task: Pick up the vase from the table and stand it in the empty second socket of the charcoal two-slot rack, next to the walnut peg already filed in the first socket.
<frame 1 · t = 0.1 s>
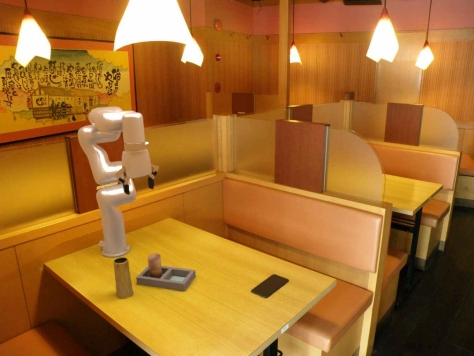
hand: (139, 191, 145), 37 cm above the table, tool pointing down, fingers open, 9 cm apart
walnut peg: (156, 278, 155), resting in slot rack
slot rack: (166, 280, 154), on the table
smartphone: (270, 287, 148), on the table
vase: (124, 294, 145), on the table
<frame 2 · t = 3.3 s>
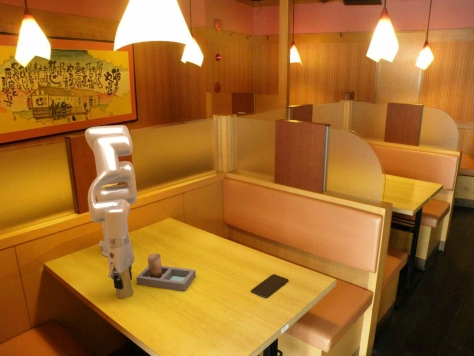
hand: (123, 283, 143), 5 cm above the table, tool pointing down, fingers closed on vase, 5 cm apart
vase: (124, 294, 145), on the table, touching gripper
everything else where it was.
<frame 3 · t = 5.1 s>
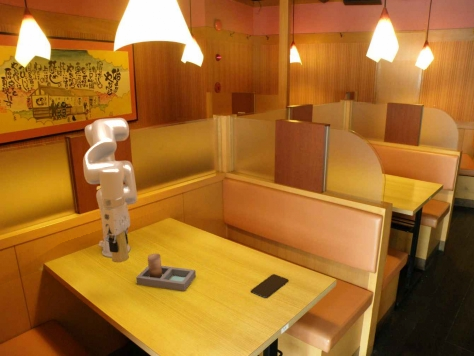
hand: (119, 247, 140), 19 cm above the table, tool pointing down, fingers closed on vase, 5 cm apart
vase: (120, 259, 141), point 14 cm above the table, touching gripper
everything else where it was.
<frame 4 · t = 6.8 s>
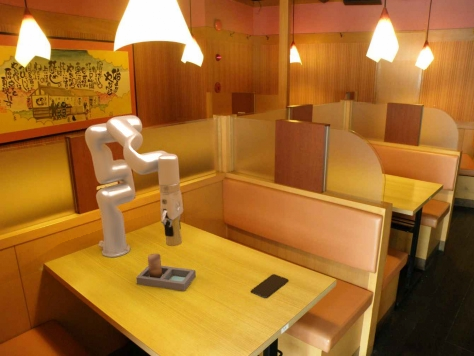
hand: (173, 232, 146), 21 cm above the table, tool pointing down, fingers closed on vase, 5 cm apart
vase: (173, 243, 148), point 17 cm above the table, touching gripper
everything else where it was.
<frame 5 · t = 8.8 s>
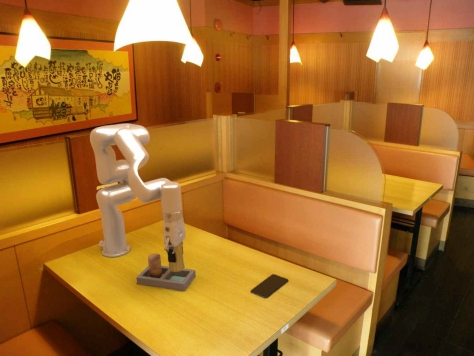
hand: (175, 257, 149), 11 cm above the table, tool pointing down, fingers closed on vase, 5 cm apart
vase: (176, 268, 151), point 6 cm above the table, touching gripper
everything else where it was.
when the fingers open (6 cm above the table, at t = 10.2 s): vase drops 1 cm, resting on slot rack.
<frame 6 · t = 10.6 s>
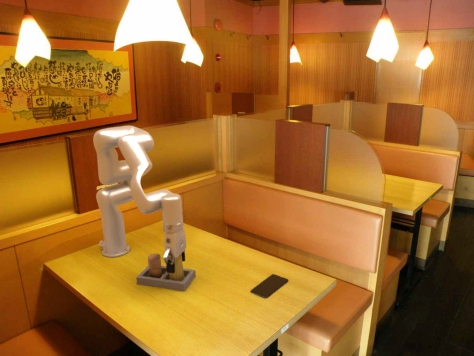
hand: (176, 266, 150), 7 cm above the table, tool pointing down, fingers open, 9 cm apart
vase: (177, 281, 152), resting on slot rack
everything else where it was.
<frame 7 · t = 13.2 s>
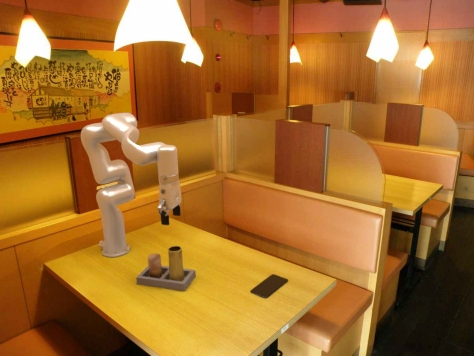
hand: (171, 220, 150), 25 cm above the table, tool pointing down, fingers open, 9 cm apart
nothing on the table moved.
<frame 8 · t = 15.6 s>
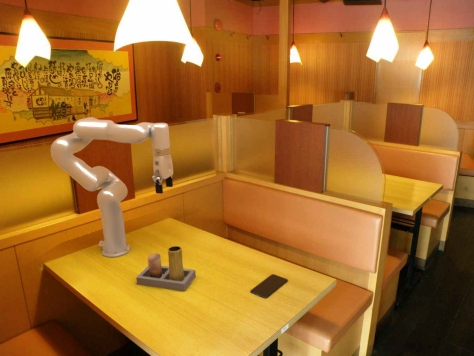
hand: (164, 189, 169), 30 cm above the table, tool pointing down, fingers open, 9 cm apart
nothing on the table moved.
at the end: vase 0.2 cm from the target spot on the slot rack, point 0.0 cm above the slot rack's base; vase tilted 0°; the gripper is holding nothing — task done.
